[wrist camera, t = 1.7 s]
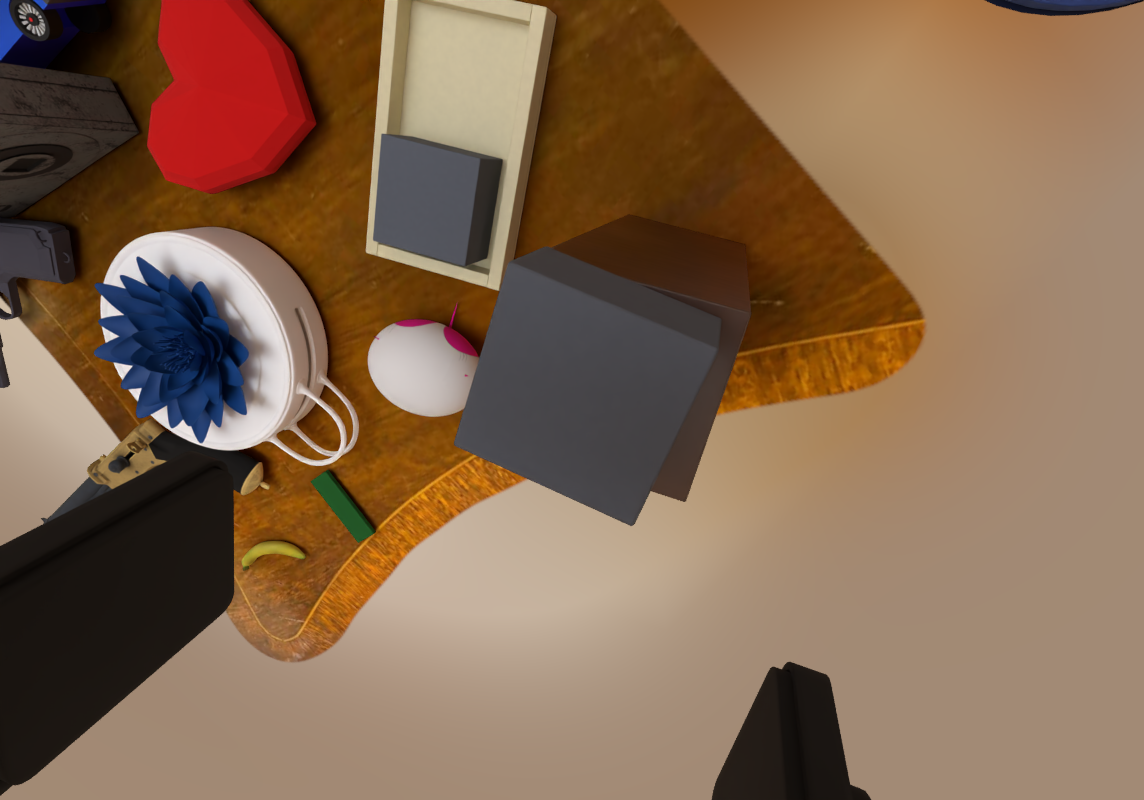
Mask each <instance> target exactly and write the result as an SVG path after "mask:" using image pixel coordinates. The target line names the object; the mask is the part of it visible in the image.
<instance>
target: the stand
mask: <svg viewBox="0 0 1144 800" xmlns="http://www.w3.org/2000/svg"><path fill="white" fill-rule="evenodd" d="M552 249H555V250H557V251H559V252H562V253H564V254H567V255H569V256H571V257H574V258H576V259H579V260H581V261H584V262H586V263H588V264H591V265H593V266H596V267H598V268H600V269H603V270H605V271H608V272H610V273H613V274H615V275H617V276H620V277H622V278H625V279H627V280H629V281H632V282H634V283H637V284H639V285H642V286H644V287H646V288H649V289H651V290H654V291H656V292H658V293H661V294H663V295H666V296H668V297H671V298H673V299H675V300H678V301H680V302H683V303H685V304H687V305H690V306H692V307H695V308H697V309H700V310H702V311H704V312H707V313H709V314H712V315H714V316H716V317H719V318H721V319H722V323H721V332H720V341H719V351H718V354H717V356H716V358H715V360H714V362H713V364H712V366H711V368H710V370H709V372H708V374H707V376H706V378H705V380H704V382H703V384H702V386H701V388H700V391H699V393H698V395H697V397H696V399H695V401H694V403H693V405H692V407H691V409H690V411H689V413H688V415H687V417H686V419H685V421H684V423H683V425H682V427H681V430H680V432H679V434H678V436H677V438H676V440H675V442H674V444H673V446H672V448H671V450H670V452H669V454H668V456H667V458H666V460H665V462H664V464H663V467H662V469H661V471H660V473H659V475H658V477H657V479H656V481H655V483H654V485H653V487H652V489H651V491H653V492H656V493H658V494H662V495H665V496H668V497H671V498H674V499H677V500H680V501H683V502H685V501H686V499H687V496H688V494H689V491H690V488H691V485H692V482H693V479H694V477H695V474H696V471H697V468H698V465H699V462H700V459H701V457H702V454H703V451H704V448H705V445H706V442H707V439H708V436H709V434H710V431H711V428H712V425H713V422H714V419H715V417H716V414H717V411H718V408H719V405H720V402H721V399H722V397H723V394H724V391H725V388H726V385H727V382H728V379H729V377H730V374H731V371H732V368H733V365H734V362H735V360H736V357H737V354H738V351H739V348H740V345H741V342H742V340H743V337H744V334H745V331H746V328H747V325H748V322H749V320H750V317H751V305H750V294H749V283H748V272H747V261H746V250H745V244H742V243H738V242H734V241H730V240H726V239H722V238H718V237H714V236H710V235H707V234H703V233H699V232H695V231H691V230H687V229H683V228H679V227H676V226H672V225H668V224H664V223H660V222H656V221H652V220H648V219H644V218H641V217H637V216H633V215H626V216H624V217H621V218H619V219H617V220H614V221H612V222H610V223H608V224H605V225H603V226H601V227H598V228H596V229H594V230H591V231H589V232H587V233H584V234H582V235H580V236H577V237H575V238H573V239H570V240H568V241H566V242H563V243H561V244H559V245H556V246H554V247H552Z"/></svg>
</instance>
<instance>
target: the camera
mask: <svg viewBox="0 0 1144 800" xmlns="http://www.w3.org/2000/svg"><path fill="white" fill-rule="evenodd" d="M138 133H139V131H138V129H137V127H136V126H135V124H134V122H133V120H132V118H131V116H130V115H129V113H128V111H127V109H126V107H125V105H124V104H123V102H122V100H121V98H120V96H119V94H118V93H117V91H116V89H115V87H114V85H113V83H112V81H111V79H110V78H106V77H98V76H91V75H84V74H77V73H70V72H63V71H56V70H49V69H42V68H35V67H28V66H21V65H14V64H7V63H0V217H3V218H11V217H14V216H16V215H17V214H19V213H20V212H22V211H23V210H25V209H26V208H28V207H29V206H31V205H32V204H34V203H35V202H37V201H38V200H40V199H41V198H43V197H44V196H46V195H47V194H49V193H50V192H52V191H53V190H54V189H56V188H57V187H59V186H60V185H62V184H63V183H65V182H66V181H68V180H69V179H70V178H72V177H73V176H75V175H76V174H78V173H79V172H81V171H82V170H83V169H85V168H86V167H88V166H89V165H91V164H92V163H93V162H95V161H97V160H98V159H100V158H101V157H103V156H104V155H106V154H107V153H109V152H110V151H112V150H113V149H115V148H116V147H118V146H119V145H121V144H122V143H124V142H126V141H127V140H129V139H130V138H132V137H133V136H135V135H136V134H138Z"/></svg>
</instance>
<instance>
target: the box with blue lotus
mask: <svg viewBox="0 0 1144 800" xmlns="http://www.w3.org/2000/svg"><path fill="white" fill-rule="evenodd" d="M95 287H96V289H97V290H98V292H99V293H100V294H101V319H100V320H99V321H98V322H99V324H100V325H101V326H102V328H103V333H104V337H105V341H106V343H105V344H103V345H101V346H100V347H98V348H97V349H96V350H95V352H94V354H95V355H96V356H97V357H99V358H101V359H104V360H107V361H110V362H113V363H114V365H115V367H116V369H117V371H118V373H119V375H120V377H121V378H122V383H121V388H123V389H129V391H130V392H131V393H132V395H133V396H134V397H135V399H136V400H137V401H138V403H137V409H136V415H137V417H138V418H143V417H146V416H149V415H151V416H152V417H153V418H155V419H156V420H157V421H158V422H159V423H160V424H162V425H163V426H164V427H166V428H167V429H169V430H170V431H172V432H173V433H175V434H176V435H178V436H180V437H182V438H184V439H186V440H188V441H190V442H193V443H195V444H198V445H201V446H204V447H208V448H212V449H218V450H241V449H246V448H249V447H252V446H255V445H257V444H259V443H261V442H264V441H270V442H272V443H274V444H276V445H277V446H278V447H280V448H281V449H283V450H284V451H285V452H287V453H288V454H290V455H291V456H293V457H294V458H296V459H298V460H300V461H302V462H304V463H306V464H309V465H314V466H323V465H327V464H331V463H332V462H334V461H336V460H337V459H339V458H340V457H341V456H342V455H344V454H345V453H347V452H349V451H350V450H351V449H352V448H353V447H354V445H355V443H356V441H357V437H358V433H359V423H358V417H357V414H356V411H355V409H354V408H353V406H352V404H351V403H350V402H349V400H348V399H347V398H346V397H345V396H344V394H343V393H342V392H341V391H340V390H339V389H338V388H337V387H335V386H334V385H333V384H332V383H331V382H330V381H329V380H328V378H327V377H326V376H327V369H328V348H327V340H326V335H325V330H324V327H323V323H322V320H321V317H320V314H319V312H318V309H317V307H316V305H315V303H314V301H313V299H312V297H311V295H310V293H309V292H308V290H307V288H306V287H305V285H304V284H303V282H302V281H301V279H300V278H299V277H298V275H297V274H296V273H295V272H294V270H293V269H292V268H291V267H290V266H289V265H288V264H287V263H286V262H285V261H284V260H283V259H282V258H281V257H280V256H279V255H278V254H276V253H275V252H274V251H273V250H271V249H270V248H269V247H267V246H266V245H264V244H263V243H261V242H260V241H258V240H256V239H254V238H252V237H251V236H248V235H246V234H244V233H241V232H238V231H235V230H232V229H227V228H221V227H202V228H193V229H184V230H175V231H166V232H157V233H151V234H148V235H144V236H142V237H139V238H137V239H135V240H134V241H132V242H130V243H129V244H128V245H126V246H125V247H124V248H123V249H122V250H121V251H120V252H119V253H118V255H117V256H116V257H115V259H114V260H113V262H112V264H111V265H110V267H109V269H108V272H107V274H106V277H105V280H104V283H96V284H95ZM324 384H325V385H327V386H328V387H329V388H330V389H332V390H333V391H334V392H335V393H336V394H337V395H338V396H339V398H340V399H341V400H342V401H343V402H344V404H345V405H346V406H347V408H348V410H349V412H350V414H351V417H352V421H353V435H352V439H351V441H350V443H349V445H348V446H347V447H346V443H347V433H346V429H345V426H344V424H343V422H342V420H341V418H340V417H339V416H338V414H337V413H336V412H335V411H334V410H333V409H332V408H331V407H330V406H329V405H328V404H326V403H325V402H324V401H323V400H322V399H320V398H319V397H320V395H321V393H322V390H323V387H324ZM316 403H318V404H319V405H320V406H321V407H322V408H323V409H325V410H326V411H327V412H328V413H329V414H330V415H331V416H332V418H333V419H334V420H335V421H336V423H337V425H338V427H339V430H340V433H341V444H340V448H339V450H338V451H328V450H325V449H323V448H321V447H320V446H318V445H317V444H315V443H314V442H313V441H312V440H311V439H310V438H308V437H307V436H306V435H305V434H304V433H303V432H302V431H301V430H300V429H299V428H298V426H297V422H298V421H299V420H301V419H302V418H303V417H304V416H306V415H307V414H308V413H309V412H310V410H311V409H312V408H313V407H314V405H315V404H316ZM282 430H292V431H293V432H295V433H296V434H297V435H298V436H299V437H301V438H302V439H303V440H304V441H305V442H306V443H307V444H308V445H310V446H311V447H312V448H313V449H315V450H316V451H317V452H319V453H321V454H323V455H326V456H330V457H331V458H329V459H325V460H311V459H308V458H305V457H303V456H301V455H299V454H298V453H296V452H294V451H293V450H291V449H290V448H288V447H287V446H286V445H284V444H283V443H282V442H281V441H280V440H279V439H278V438H277V436H276V435H277V433H278V432H280V431H282Z"/></svg>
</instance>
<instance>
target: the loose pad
mask: <svg viewBox="0 0 1144 800" xmlns="http://www.w3.org/2000/svg"><path fill="white" fill-rule="evenodd" d="M721 323H722V319H721V318H719V317H716V316H714V315H712V314H709V313H707V312H704V311H702V310H700V309H697V308H695V307H692V306H690V305H687V304H685V303H683V302H680V301H678V300H675V299H673V298H671V297H668V296H666V295H663V294H661V293H658V292H656V291H654V290H651V289H649V288H646V287H644V286H642V285H639V284H637V283H634V282H632V281H629V280H627V279H625V278H622V277H620V276H617V275H615V274H613V273H610V272H608V271H605V270H603V269H600V268H598V267H596V266H593V265H591V264H588V263H586V262H584V261H581V260H579V259H576V258H574V257H571V256H569V255H567V254H564V253H562V252H559V251H557V250H555V249H552V248H550V247H544V248H541V249H539V250H536V251H534V252H531V253H529V254H527V255H524V256H522V257H519V258H517V259H514V260H512V261H510V262H509V263H508V265H507V269H506V272H505V275H504V279H503V282H502V285H501V289H500V292H499V295H498V298H497V302H496V305H495V308H494V312H493V315H492V318H491V322H490V325H489V328H488V332H487V335H486V338H485V342H484V345H483V348H482V351H481V355H480V358H479V361H478V365H477V368H476V371H475V375H474V378H473V381H472V385H471V388H470V391H469V395H468V398H467V401H466V405H465V408H464V411H463V414H462V418H461V421H460V424H459V428H458V431H457V434H456V438H455V441H454V445H455V446H457V447H459V448H461V449H463V450H466V451H468V452H470V453H472V454H474V455H477V456H479V457H481V458H483V459H485V460H488V461H490V462H492V463H494V464H496V465H498V466H501V467H503V468H505V469H507V470H509V471H512V472H514V473H516V474H518V475H520V476H523V477H525V478H527V479H529V480H531V481H534V482H536V483H538V484H540V485H542V486H545V487H547V488H549V489H551V490H553V491H555V492H558V493H560V494H562V495H564V496H566V497H569V498H571V499H573V500H576V501H577V502H580V503H582V504H584V505H586V506H588V507H591V508H593V509H595V510H597V511H599V512H602V513H604V514H606V515H608V516H610V517H612V518H615V519H617V520H619V521H621V522H623V523H626V524H628V525H630V526H632V525H634V524H635V522H636V520H637V518H638V516H639V514H640V512H641V510H642V508H643V506H644V503H645V501H646V499H647V497H648V495H649V493H650V491H651V489H652V487H653V485H654V483H655V481H656V479H657V477H658V475H659V473H660V471H661V469H662V467H663V464H664V462H665V460H666V458H667V456H668V454H669V452H670V450H671V448H672V446H673V444H674V442H675V440H676V438H677V436H678V434H679V432H680V430H681V427H682V425H683V423H684V421H685V419H686V417H687V415H688V413H689V411H690V409H691V407H692V405H693V403H694V401H695V399H696V397H697V395H698V393H699V391H700V388H701V386H702V384H703V382H704V380H705V378H706V376H707V374H708V372H709V370H710V368H711V366H712V364H713V362H714V360H715V358H716V356H717V354H718V351H719V341H720V332H721Z"/></svg>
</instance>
